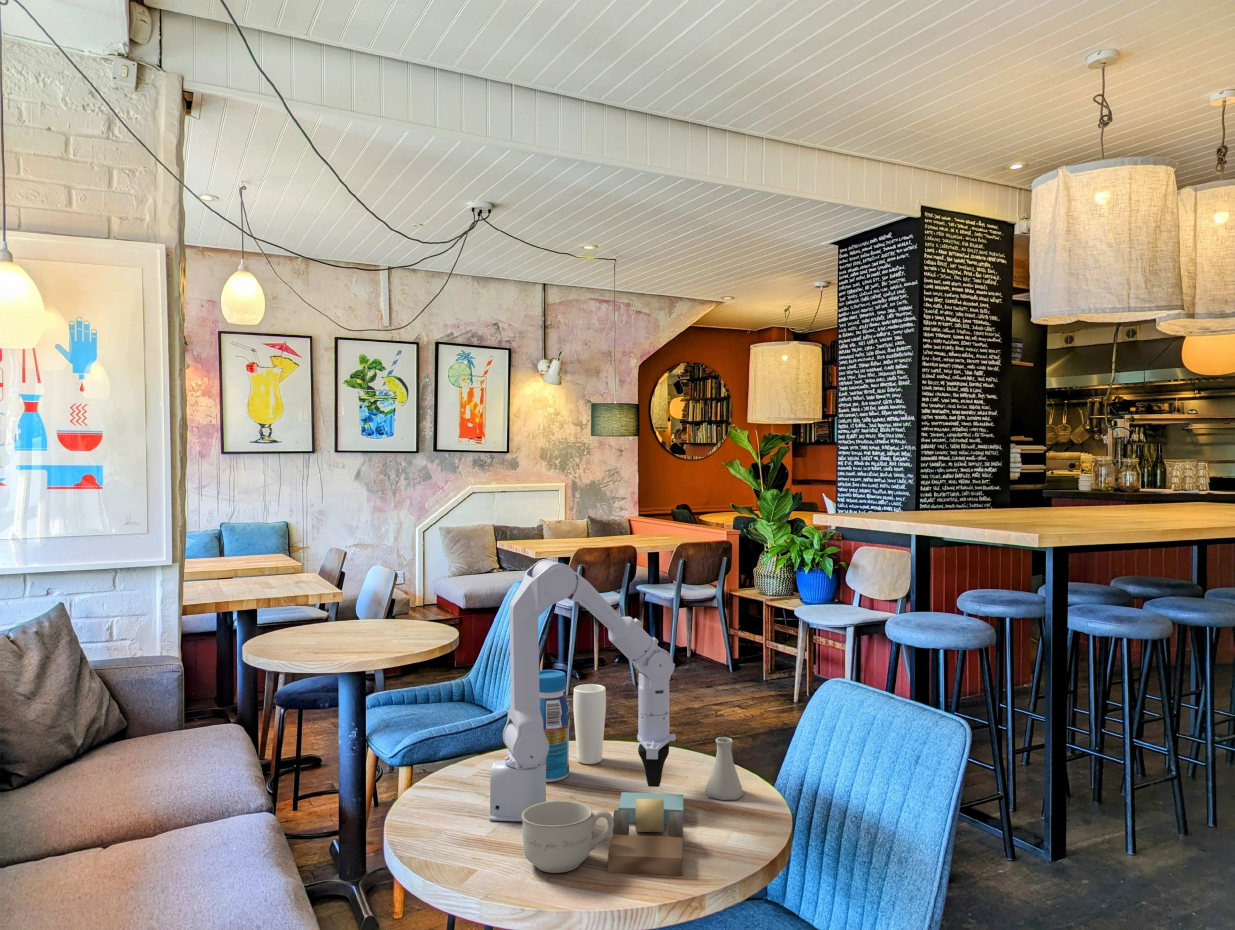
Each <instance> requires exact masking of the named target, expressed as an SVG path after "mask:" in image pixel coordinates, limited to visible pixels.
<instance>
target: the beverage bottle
mask: <svg viewBox="0 0 1235 930" xmlns="http://www.w3.org/2000/svg"><path fill="white" fill-rule="evenodd" d="M566 688H567V676H566V673H565V672H564V671H561V670H557V669H544V670H539V696H540V711H541V715H542V720H543V730H544V733H545V736H546V737H547V739H548V742H549V752H548V755H547V757H546V783H552V782H553V783H555V782H559V781H562V780H564V779H566V778H567V777H568V776H569V775H570V763H569V762H570V755H569V753H570V749H569V747H570V744H569V743H570V726H571V718H570V716H569V712H570V704H569V701H568V698H567V696H566V695H565V694H564V692H565V691H566Z"/></svg>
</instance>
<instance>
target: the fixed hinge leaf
mask: <svg viewBox="0 0 1235 930" xmlns="http://www.w3.org/2000/svg"><path fill="white" fill-rule="evenodd" d="M612 817H613V820H614V827H613V830H612V835H611V839H610V844H609V848H608V854H607V873H620V874H621V873H622V874H639V875H641V874H644V875H665V876H667V875H668V876H683V869H684V867H683V866H684V865H683V860H684V856H683V853H684V851H683V850H684V849H683V848H684V812H683V813H682V812H669V821H668V824H667V827H668V828H667V829H668V830H667V832H668V836H663V835H662V836H657V835H635V834H634V835H633V834H632V835H631V834H630V823H629V810H618V809H614V811H613V815H612Z"/></svg>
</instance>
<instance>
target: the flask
mask: <svg viewBox="0 0 1235 930" xmlns="http://www.w3.org/2000/svg"><path fill="white" fill-rule="evenodd" d="M733 742H734V740H733V739H732V738H731V737H726V736H723V737H717V738H715V743H716V753H715V760H714V763H713V766H712V769H711V772H710V775H709V778H708V781H707V784H706V786H705V790H704V792H705V794H706V796H707V797H708V798H712V799H717V800H722V801H726V800H727V801H729V800H730V801H732V800H739V799H740V798H741V797H743V795H744V794H745V792H744V790H743V787H742V784H741V780H740V778H739V775H738V772H737V769H736V767H735V763H734V759H733V758H734V757H733V752H732V744H733Z"/></svg>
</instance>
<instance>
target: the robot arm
mask: <svg viewBox="0 0 1235 930" xmlns="http://www.w3.org/2000/svg"><path fill="white" fill-rule="evenodd" d="M565 599H568V600H570V601H573V602H576V603H577V602H578V603H580V604H581V605H582V606H583V607H584V608H585V610H587V611H588V612H589V613H590V614H591V615H593V617H595V618H596V620H598V621H599V622H600V623H601V624H602V625H603V626H605V627H606V628H607V631H608V641H610V643H612V644H613V645H614V646H615V648H617V649H618V650H619V651H620V652H621V653H622V654H623V655H624V656H625V657H626V658H627V659H628V660H629V661H630V662H631V663H632V664H633V666H634V669H635V670H637V671H639V672H638V687H637V688H638V690H637V691H638V694H637V695H638V704H637V705H638V707H637V708H638V714H637V715H638V716H637V717H638V720H637V721H638V727H637V728H638V733H637V735H636V738H637V741H638V742H639V744H638V748H637V752H638V756H639V758H640V759H641V761H642V764H643V768H644V772H645V779H646V783H647V786H648V787H651V788H652V787H653V788H655V787H656V788H659V787H660V786H661V782H662V776H663V769H664V766H665V763H666V760H667V758H668V756H669V752H670V743H669V742H676V740H677V739H676V738H677V737H676V734H675V733H670V678H671V676H672V675H673V673H674V671H675V668H676V664H675V663H674V662H673V657H672V655H671V654H670V653H669V651H667V650H666V649H664V648H661V647H660V646H658V644H659V640H658V639H657V638H656V637H654V636H653V637H652V636H650V634H649V633H647V631H645V630H644V629H643V628H642V625H643V623H642V622H641V621H640V619H637V618H636V617H635V618H633V617H631V616H621V615H620V614H619V613H618V612H617V611H616V610H615V609H614V608H613V606H611V604H610V603H609V602H608V601H607V600H606V599H605V598H604V597H603V596H602V595H601V594H600V592H599V591H598V590H597V589H596V588H595V587H594V586H593V585H592V584H591V583H590V582H589V581H588V580H587V579H586V578H584V577H583V576H581V575H580V574H579V573H578V572H575V571H574V569H573V568H572V567H571V566H569V565H568V564H565V563H563V562H562V563H560V562H558V561H557V560H555V559H551V558H543V559H540V560H538V561H537V562H536V563H534V564H533V565H532V566H531V567H529V568H528V569H527V570H526V571H525V573H524V575H523V579H522V582H521V583H520V585H519V586H518V588H517V590H516V592H515V594H514V595H513V598H512V599H511V601H510V604H509V651H510V652H509V654H510V655H509V658H510V661H509V662H510V664H509V666H510V706H509V709H508V710H507V720H506V724H505V725H504V728H503V731H502V740H503V743H504V745H505V746H506V747H507V748H508V751H507V752H506V754H505V757H504V759H501V760H500V759H499V760H495V761H494V762H493V765H492V767H491V772H490V780H489V781H490V782H489V783H490V784H489V787H490V788H489V791H490V794H489V796H490V797H489V798H490V799H489V801H490V802H489V803H490V804H489V807H490V809H489V813H490V814H489V817H488V819H489V821H497V822H498V821H499V822H500V821H501V822H502V821H503V822H522V823H523V820H522V813H523V812H524V811H525V810H526V809H527V808H528V807H530V806H533V805H535V804H539V803H543V802H548V801H549V800H547V782H546V757H547V755H548V752H549V742H548V739H547V737H546V736H545V733H544V730H543V720H542V715H541V711H540V696H539V671H540V646H539V645H540V639H539V637H540V636H539V633H540V632H539V617H541V616H542V614H544V612H546V611H547V610H548V609H549V608H550V607H551V606H553V605H555V604H557V603H559V602H562V601H563V600H565Z"/></svg>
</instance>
